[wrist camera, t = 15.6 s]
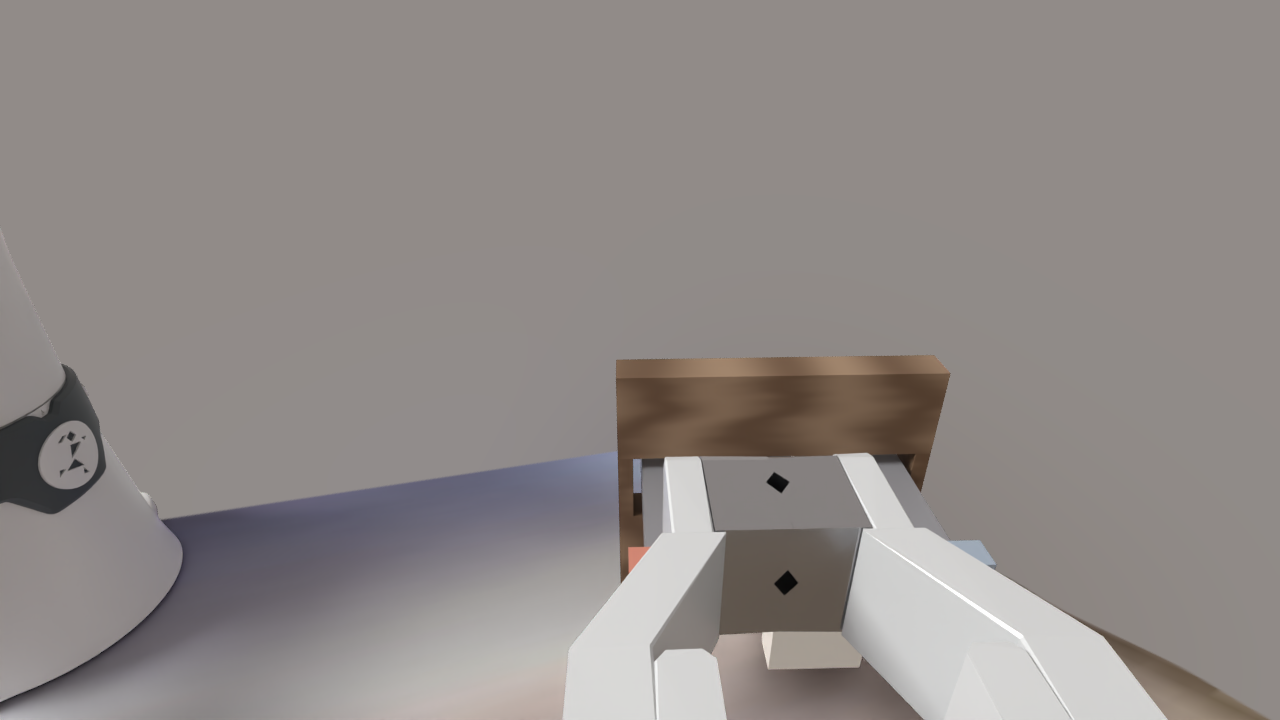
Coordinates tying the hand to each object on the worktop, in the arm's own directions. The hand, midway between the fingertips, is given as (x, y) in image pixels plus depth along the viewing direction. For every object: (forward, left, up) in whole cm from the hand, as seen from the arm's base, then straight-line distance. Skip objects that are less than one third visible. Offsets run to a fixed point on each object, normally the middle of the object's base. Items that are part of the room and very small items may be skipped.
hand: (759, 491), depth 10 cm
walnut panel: (+6, +22, -26) cm, 35 cm away
